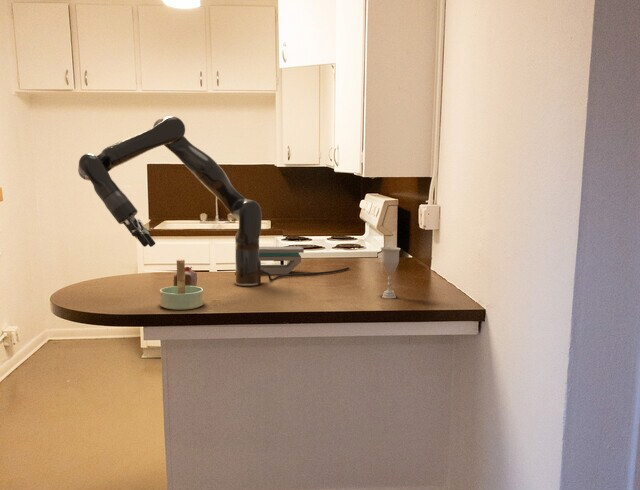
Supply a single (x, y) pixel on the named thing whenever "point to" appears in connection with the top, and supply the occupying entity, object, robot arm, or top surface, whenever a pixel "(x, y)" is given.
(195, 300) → the bowl
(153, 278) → the top surface
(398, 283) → the top surface
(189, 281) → the food item
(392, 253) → the chalice
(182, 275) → the wooden bolt
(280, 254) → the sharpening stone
